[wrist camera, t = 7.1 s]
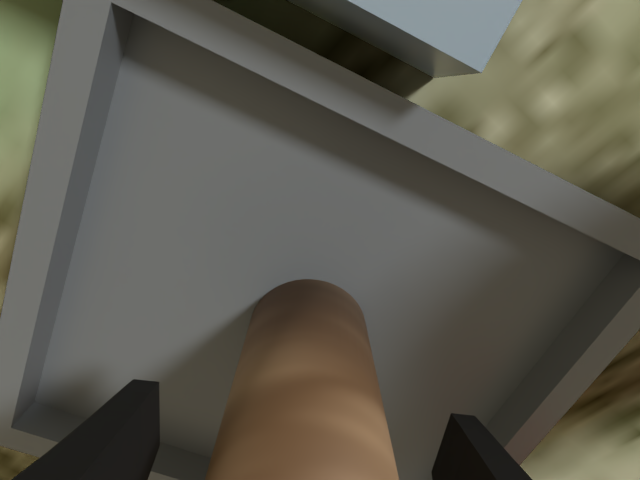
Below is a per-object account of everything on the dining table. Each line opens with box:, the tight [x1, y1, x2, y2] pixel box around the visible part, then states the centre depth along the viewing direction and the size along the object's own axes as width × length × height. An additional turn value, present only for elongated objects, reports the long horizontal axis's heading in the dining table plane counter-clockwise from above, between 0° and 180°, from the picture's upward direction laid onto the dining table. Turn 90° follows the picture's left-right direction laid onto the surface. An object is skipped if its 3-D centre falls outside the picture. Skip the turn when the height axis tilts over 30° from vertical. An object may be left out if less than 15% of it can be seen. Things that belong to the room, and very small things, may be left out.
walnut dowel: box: [205, 279, 399, 480], centre depth 9 cm, size 4×4×9 cm
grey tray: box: [0, 0, 640, 480], centre depth 13 cm, size 18×16×2 cm
